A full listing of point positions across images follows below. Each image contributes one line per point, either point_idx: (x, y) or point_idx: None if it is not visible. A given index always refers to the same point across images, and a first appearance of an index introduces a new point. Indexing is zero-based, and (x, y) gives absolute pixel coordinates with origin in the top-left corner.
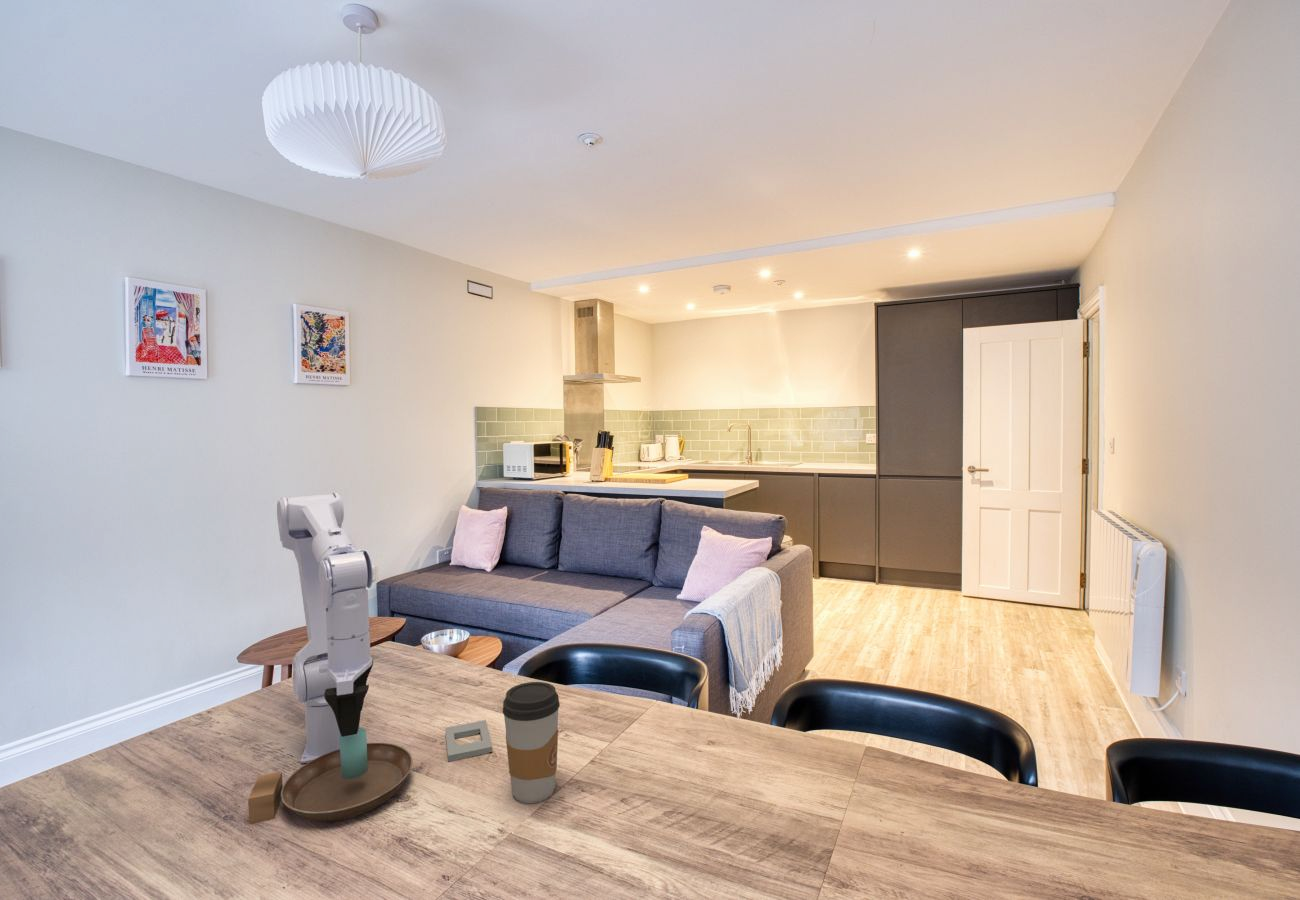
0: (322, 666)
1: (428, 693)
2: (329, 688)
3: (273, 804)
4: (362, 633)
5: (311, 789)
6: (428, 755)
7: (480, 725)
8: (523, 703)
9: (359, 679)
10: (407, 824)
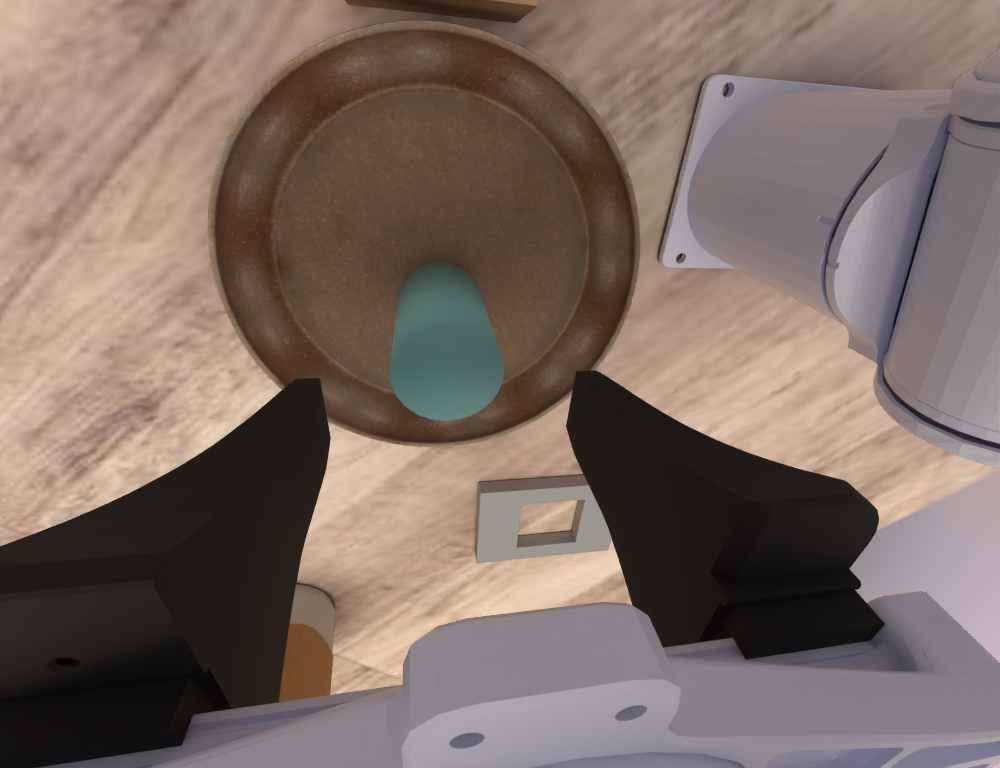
0: (527, 733)
1: (868, 429)
2: (161, 612)
3: None
4: None
5: (490, 140)
6: (533, 443)
7: (589, 542)
8: None
9: (640, 560)
10: (214, 417)
